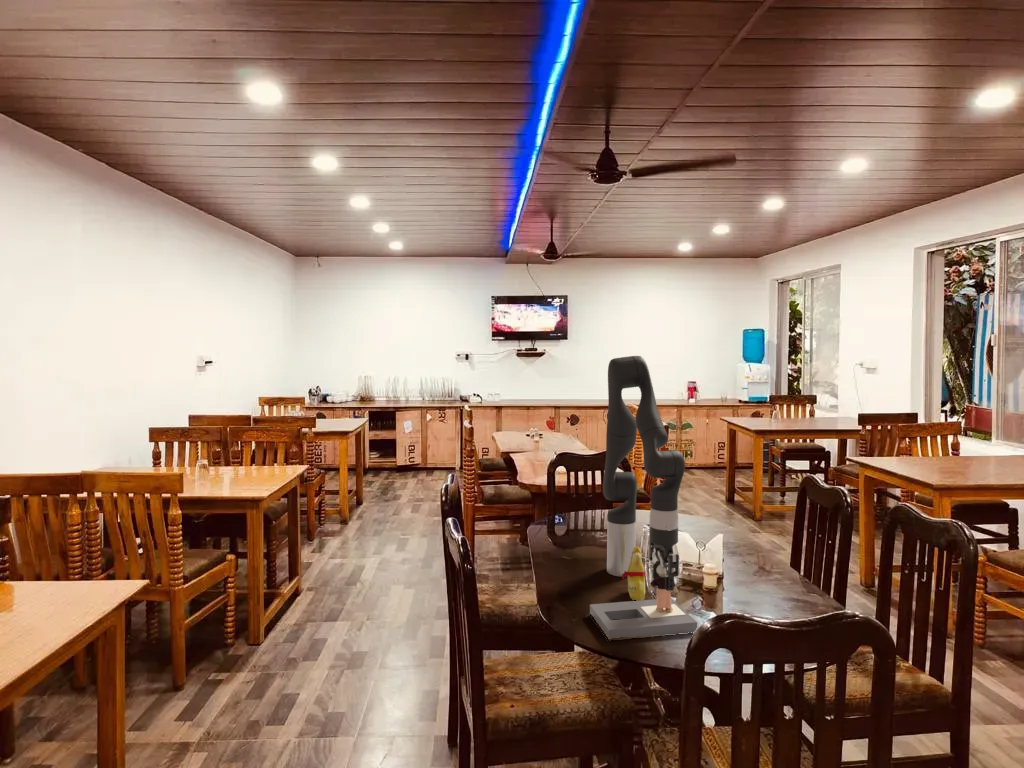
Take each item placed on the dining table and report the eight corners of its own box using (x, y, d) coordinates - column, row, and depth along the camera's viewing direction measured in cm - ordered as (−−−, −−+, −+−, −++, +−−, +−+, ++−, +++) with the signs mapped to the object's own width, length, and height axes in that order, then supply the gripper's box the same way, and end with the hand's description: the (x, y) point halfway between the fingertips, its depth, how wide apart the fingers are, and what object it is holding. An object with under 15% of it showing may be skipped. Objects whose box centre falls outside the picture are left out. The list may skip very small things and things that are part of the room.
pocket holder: (589, 615, 178) (589, 603, 178) (670, 608, 182) (671, 597, 182) (608, 641, 162) (608, 629, 162) (696, 633, 167) (697, 621, 167)
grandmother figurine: (674, 606, 176) (674, 561, 175) (678, 612, 172) (678, 565, 171) (646, 608, 175) (646, 562, 174) (650, 613, 171) (650, 567, 171)
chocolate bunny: (642, 588, 197) (643, 540, 196) (647, 603, 186) (647, 552, 185) (620, 587, 198) (620, 540, 197) (623, 602, 187) (623, 551, 186)
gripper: (640, 518, 178) (639, 575, 179) (661, 533, 164) (660, 595, 165) (665, 516, 179) (665, 574, 181) (688, 531, 165) (688, 593, 167)
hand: (663, 584), depth 173 cm, fingers open, 7 cm apart
